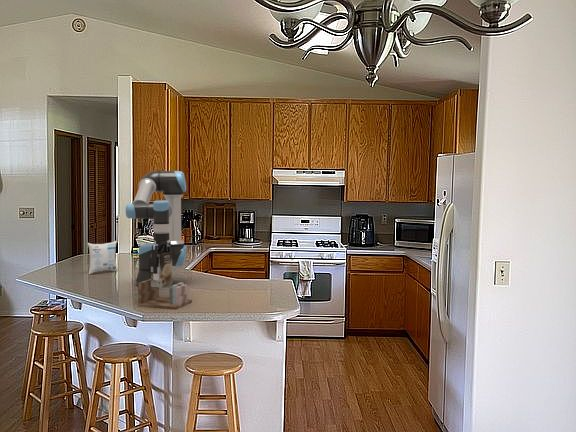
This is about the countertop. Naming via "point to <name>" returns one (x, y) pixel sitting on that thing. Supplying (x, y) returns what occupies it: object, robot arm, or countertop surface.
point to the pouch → (102, 257)
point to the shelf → (151, 297)
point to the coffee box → (163, 270)
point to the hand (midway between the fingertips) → (161, 278)
